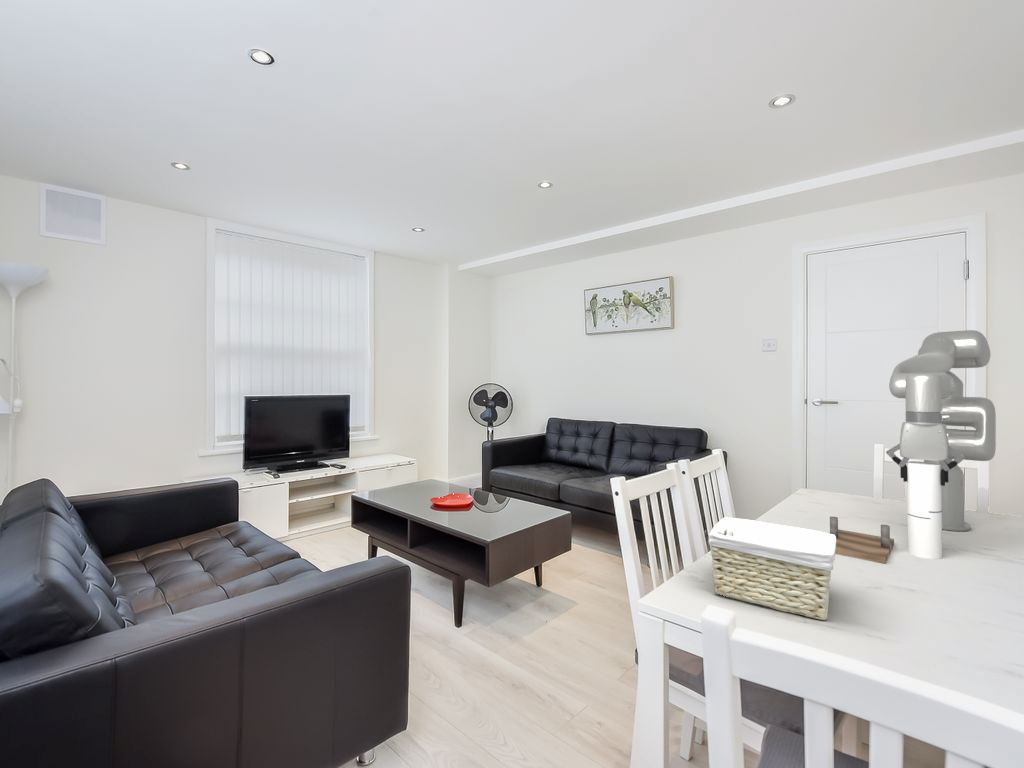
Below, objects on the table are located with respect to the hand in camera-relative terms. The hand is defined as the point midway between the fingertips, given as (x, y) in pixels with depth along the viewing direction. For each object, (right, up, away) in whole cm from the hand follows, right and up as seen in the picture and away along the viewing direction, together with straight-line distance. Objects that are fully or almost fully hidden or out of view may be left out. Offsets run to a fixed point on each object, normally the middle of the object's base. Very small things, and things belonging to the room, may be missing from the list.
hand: (923, 482), depth 130 cm
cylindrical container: (0, -20, 0) cm, 20 cm away
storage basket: (-54, -21, -23) cm, 63 cm away
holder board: (-13, -20, +6) cm, 25 cm away
